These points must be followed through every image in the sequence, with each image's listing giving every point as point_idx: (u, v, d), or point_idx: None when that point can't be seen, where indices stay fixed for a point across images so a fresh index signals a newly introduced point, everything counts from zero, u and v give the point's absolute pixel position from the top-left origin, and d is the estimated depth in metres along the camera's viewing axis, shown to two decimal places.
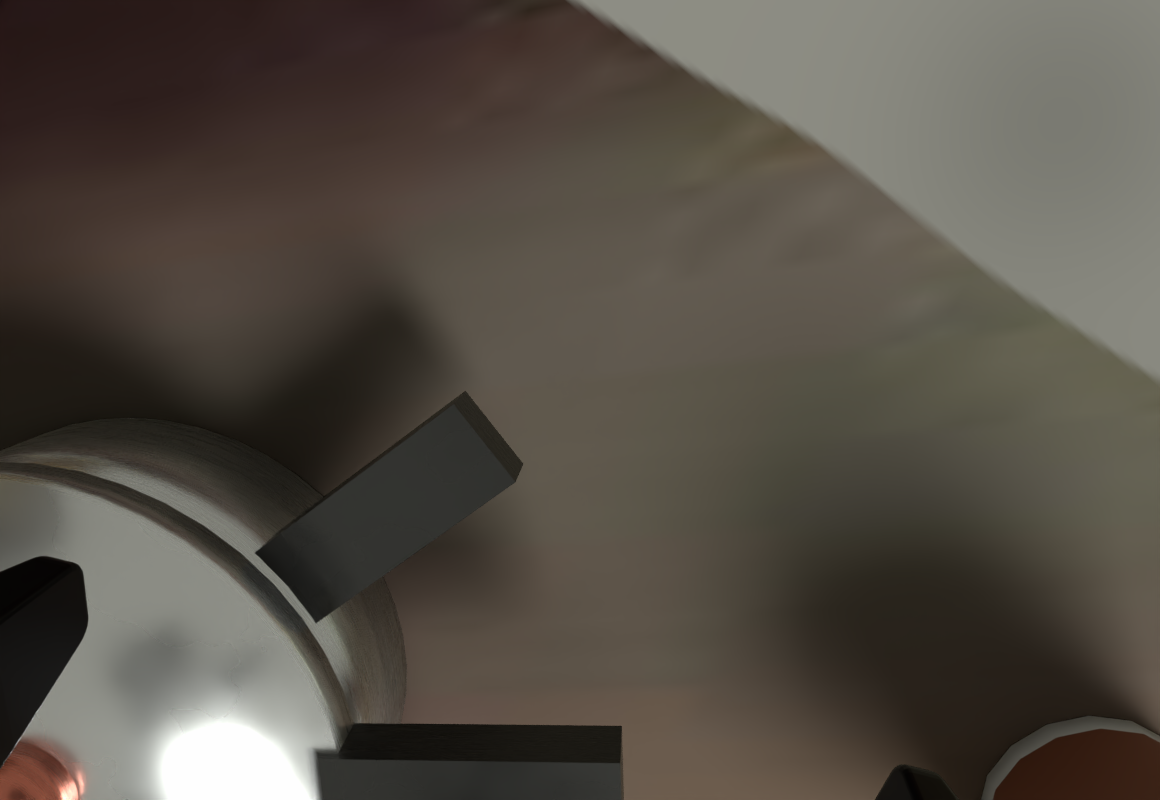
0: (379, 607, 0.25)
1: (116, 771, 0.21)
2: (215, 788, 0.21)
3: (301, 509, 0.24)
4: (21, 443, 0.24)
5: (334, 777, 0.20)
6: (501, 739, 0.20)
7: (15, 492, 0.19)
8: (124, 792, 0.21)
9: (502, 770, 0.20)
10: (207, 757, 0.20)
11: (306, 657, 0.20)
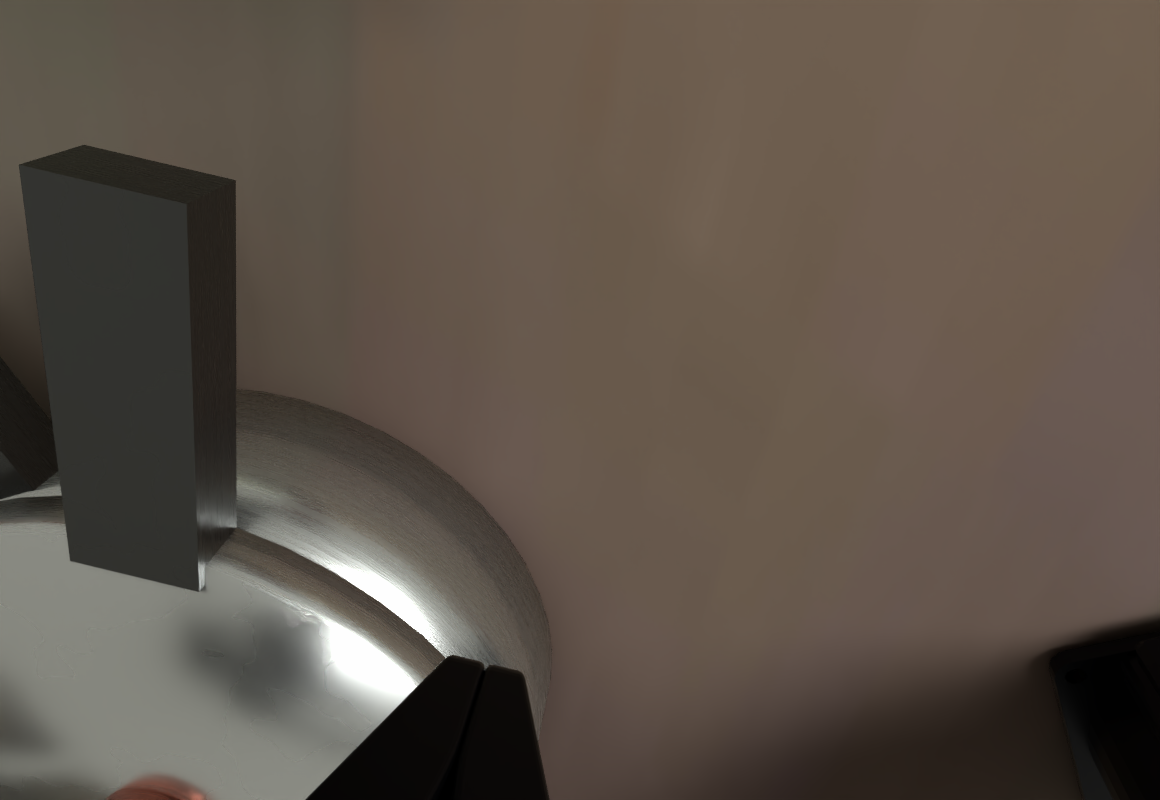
0: None
1: (127, 750, 0.18)
2: (141, 674, 0.17)
3: None
4: None
5: (95, 552, 0.15)
6: None
7: None
8: (154, 754, 0.18)
9: (55, 345, 0.13)
10: (98, 666, 0.17)
11: None
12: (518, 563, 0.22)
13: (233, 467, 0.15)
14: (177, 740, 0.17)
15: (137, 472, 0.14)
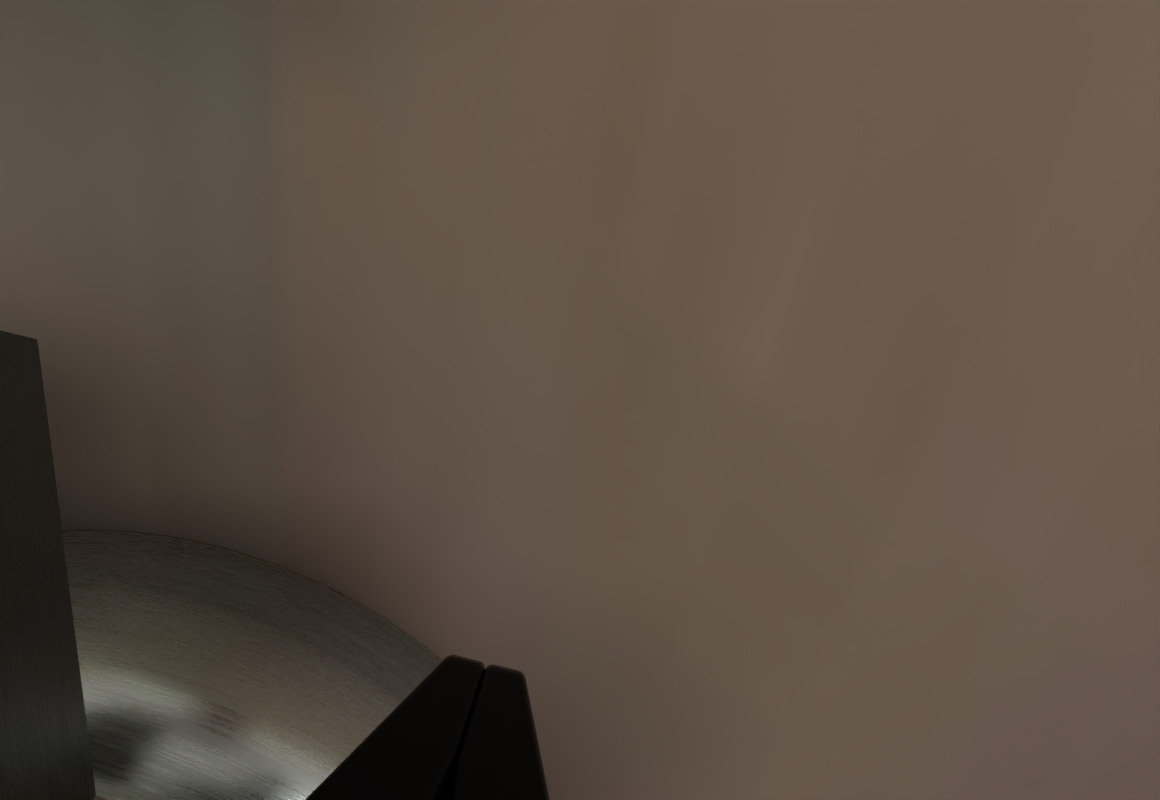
0: None
1: None
2: None
3: None
4: None
5: None
6: None
7: None
8: None
9: None
10: None
11: None
12: None
13: (82, 723, 0.10)
14: None
15: None
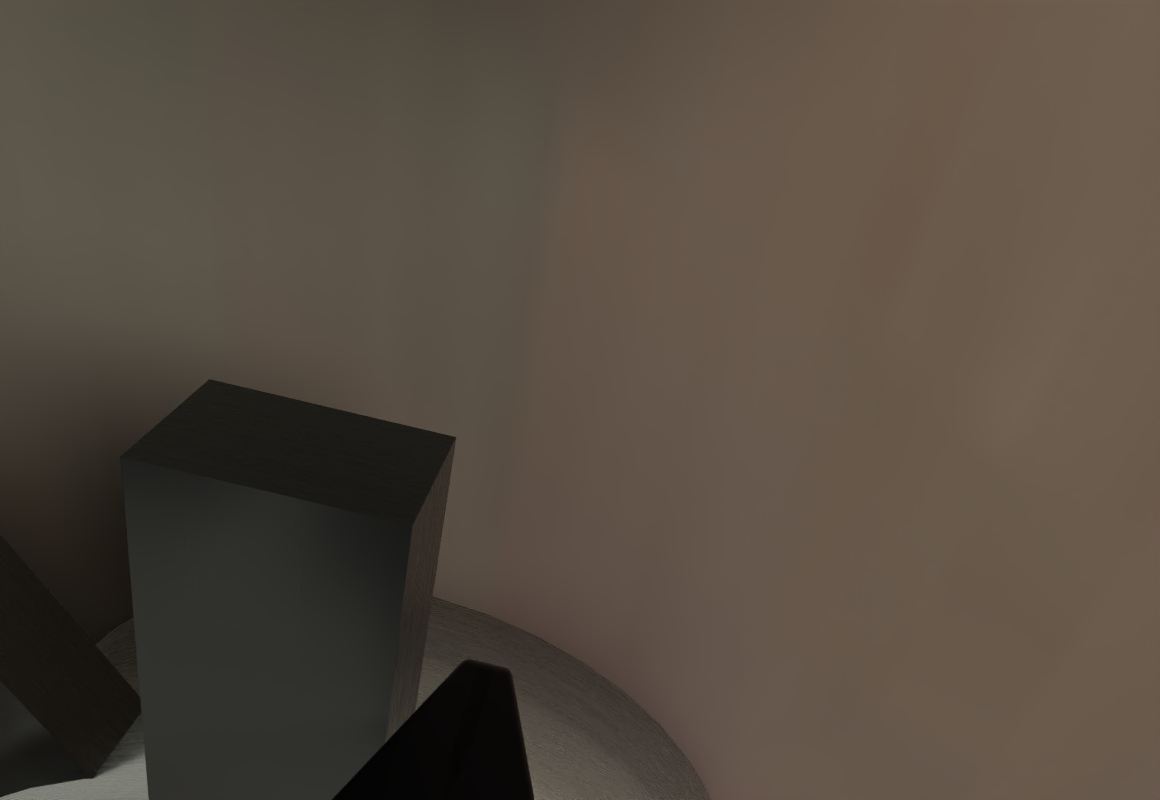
0: None
1: None
2: None
3: None
4: None
5: None
6: None
7: None
8: None
9: (162, 700, 0.08)
10: None
11: None
12: (701, 793, 0.17)
13: None
14: None
15: None
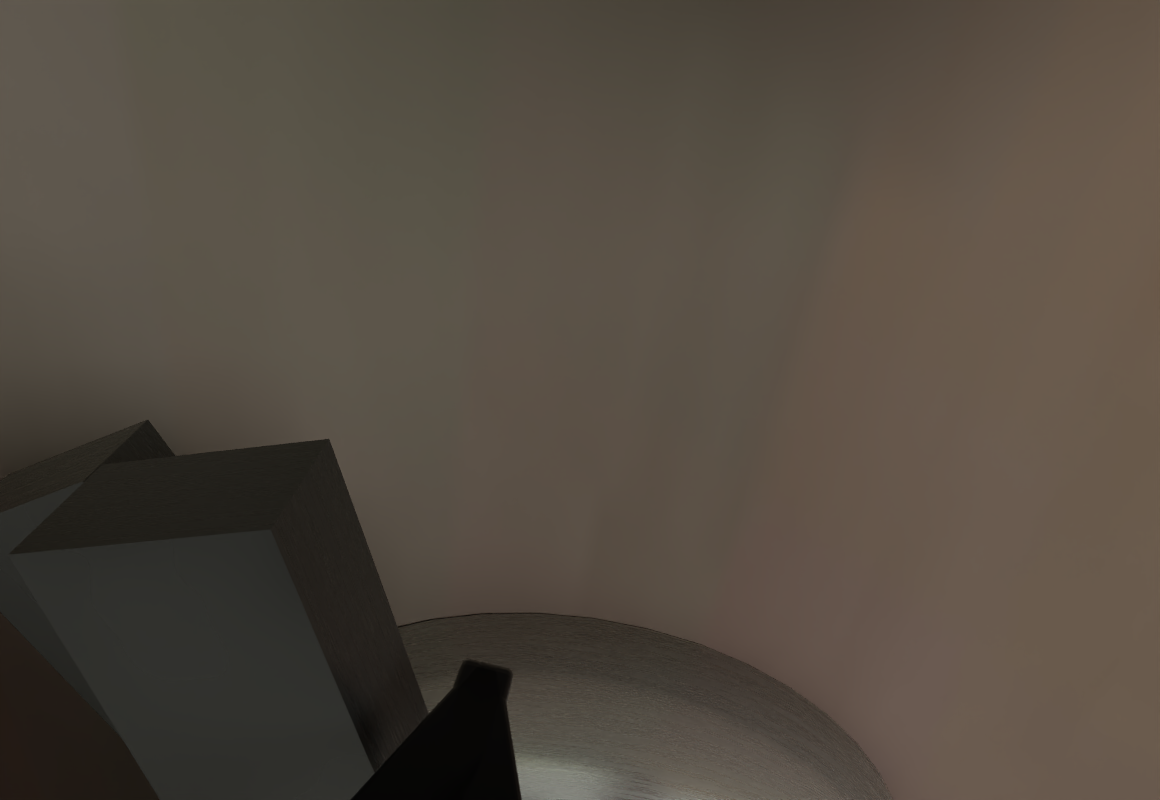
0: (504, 653, 0.15)
1: None
2: None
3: None
4: None
5: None
6: None
7: None
8: None
9: (162, 770, 0.08)
10: None
11: None
12: None
13: None
14: None
15: None
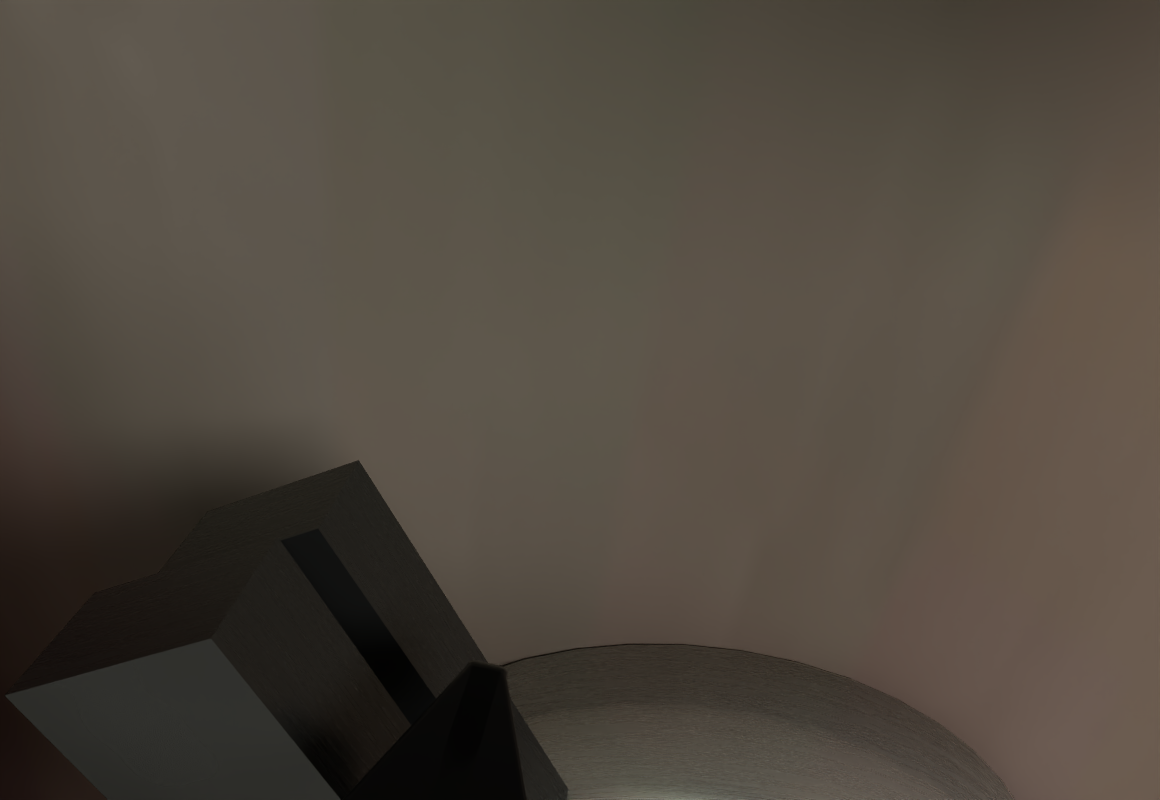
0: (658, 686, 0.15)
1: None
2: None
3: None
4: None
5: None
6: None
7: None
8: None
9: None
10: None
11: None
12: None
13: None
14: None
15: None
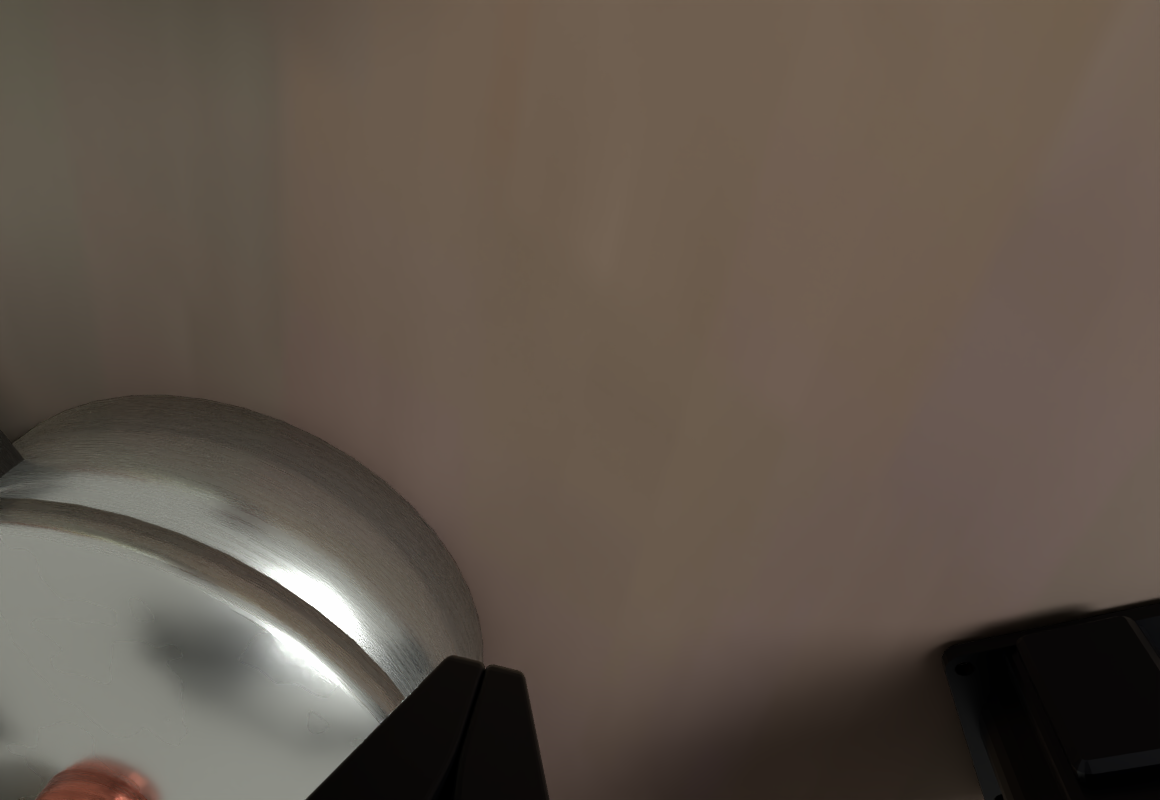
0: (127, 413, 0.21)
1: (16, 743, 0.19)
2: None
3: None
4: None
5: None
6: None
7: None
8: (32, 735, 0.19)
9: None
10: None
11: None
12: (447, 561, 0.23)
13: None
14: (32, 713, 0.19)
15: None
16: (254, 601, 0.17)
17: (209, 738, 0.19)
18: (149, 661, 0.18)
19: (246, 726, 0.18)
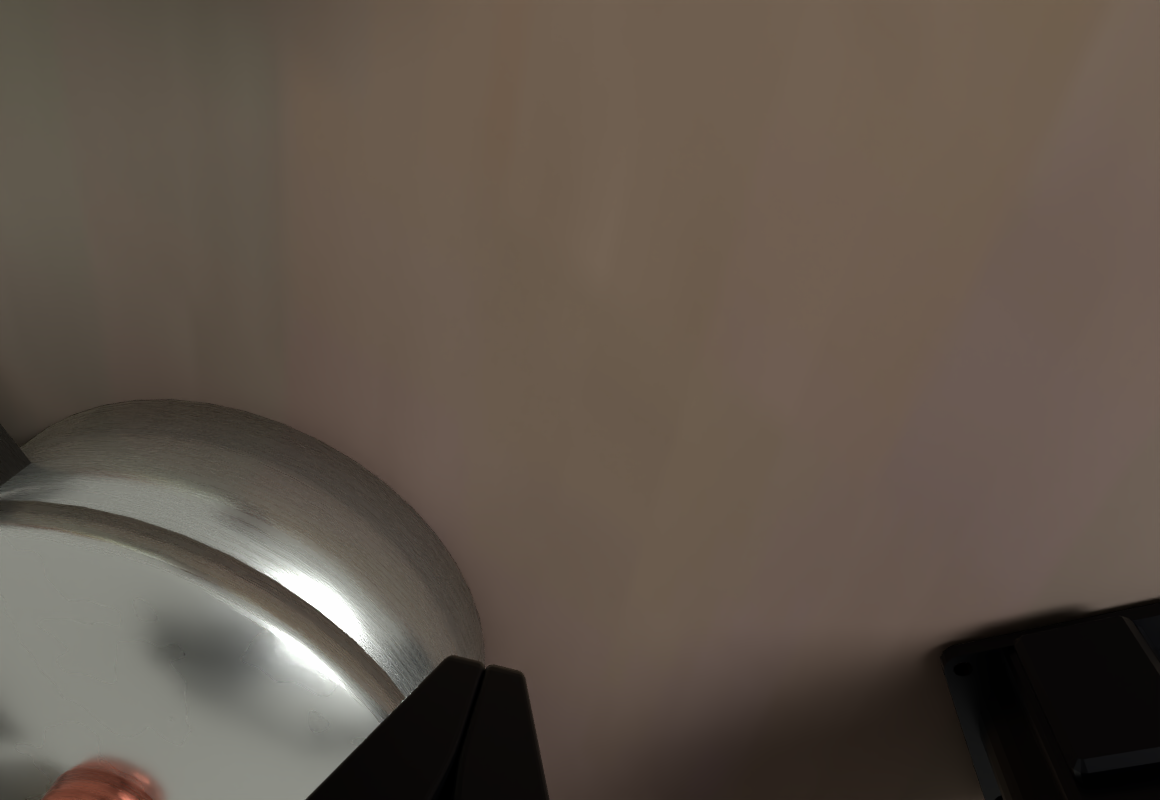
0: (132, 417, 0.22)
1: (23, 742, 0.20)
2: None
3: None
4: None
5: None
6: None
7: None
8: (39, 734, 0.20)
9: None
10: None
11: None
12: (448, 563, 0.23)
13: None
14: (38, 712, 0.19)
15: None
16: (256, 601, 0.17)
17: (212, 737, 0.19)
18: (153, 661, 0.18)
19: (249, 725, 0.18)
